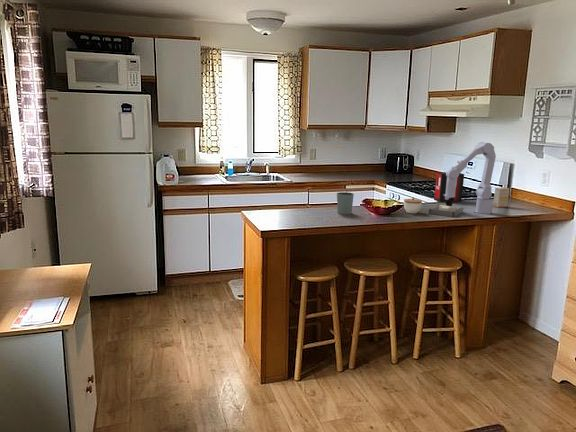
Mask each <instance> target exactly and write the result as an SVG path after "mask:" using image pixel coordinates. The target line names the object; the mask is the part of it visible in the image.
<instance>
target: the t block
mask: <svg viewBox="0 0 576 432" xmlns="http://www.w3.org/2000/svg"><path fill="white" fill-rule="evenodd" d="M438 205H439V204H438ZM439 210H444V211H451V212H454V211H456V210H457V206H453V205H452V206H446V204H445V205H443V204H440V205H439Z"/></svg>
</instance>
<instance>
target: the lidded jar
mask: <svg viewBox="0 0 576 432" xmlns="http://www.w3.org/2000/svg"><path fill="white" fill-rule="evenodd" d="M403 201H404V202H403V207H404V210H405V211H406V213H408V214H417V213H418V212H420V210H421V208H422V205H423V204H422V203H423V200H422V199H418V198H417V199H416V198H415V197H411V198H404V200H403Z"/></svg>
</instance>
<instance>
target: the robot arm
mask: <svg viewBox="0 0 576 432" xmlns="http://www.w3.org/2000/svg"><path fill="white" fill-rule="evenodd" d="M477 155H483V157H485V161H484V165H483V166H484V167H483V170H482V177H481V180H480V181H481V182H480V183H479V184H478V187H477V189H476V190H475V195H476V196H477V197H476V205H475V210H474V211H473V213H477V214H485V215H491V213H493V207H494V206H493V203H494V199H490V198H491V197H492V195H493V193H492V192H493V191H492V186H491V182H492V175H493V171H494V167H495V163H496V157H497V156H496V155H497V154H496V151H495V146H494V145H493V144H492V143H491V142H484V141H480V142H478V143H477V144H476V145H475V146H474V147H473V149H472V150H471V151H469V153H468V154H467V155H466V156H465V157H464V158H463V159H460V160H457V161H456V163H455V164H454V165H453V166H451V167H450V168H449V169H448V170H447V171H446V172H447V173H446V176H447V183H446V193H445V194H444V195H443V196H445V198H444V200H445V202H444V203H445V206H453V204H454V203H455V202H454V200H455V198H452V197H455V190H456V180H457V177H458V176H459V173H462V172H463V171H464V170H465V169H466V168H467V167H468V164H469V163H470V161H472V160H473V159H474V158H476V156H477Z"/></svg>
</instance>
